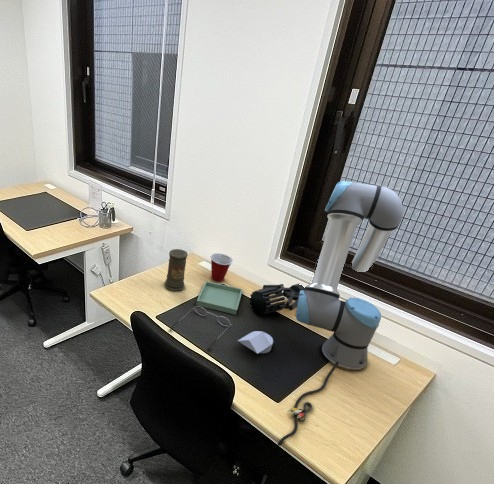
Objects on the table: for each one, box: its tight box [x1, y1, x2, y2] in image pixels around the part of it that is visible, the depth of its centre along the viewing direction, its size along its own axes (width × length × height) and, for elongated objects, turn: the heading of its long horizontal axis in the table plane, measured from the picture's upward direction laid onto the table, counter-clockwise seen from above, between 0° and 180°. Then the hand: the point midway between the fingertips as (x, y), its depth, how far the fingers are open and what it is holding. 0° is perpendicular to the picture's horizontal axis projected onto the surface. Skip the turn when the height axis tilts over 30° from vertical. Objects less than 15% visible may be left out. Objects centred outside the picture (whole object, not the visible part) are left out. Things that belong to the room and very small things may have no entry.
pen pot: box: [249, 287, 286, 317], centre depth 164 cm, size 10×11×11 cm
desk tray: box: [195, 280, 244, 315], centre depth 173 cm, size 19×18×3 cm
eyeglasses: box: [169, 305, 233, 351], centre depth 153 cm, size 18×19×4 cm
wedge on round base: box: [237, 330, 274, 354], centre depth 144 cm, size 9×7×13 cm
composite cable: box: [288, 401, 313, 423], centre depth 118 cm, size 10×5×2 cm, turn 120°
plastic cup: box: [210, 252, 234, 283], centre depth 186 cm, size 11×11×12 cm
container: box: [164, 248, 188, 292], centre depth 177 cm, size 9×9×18 cm
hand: (262, 300), depth 163 cm, fingers closed on pen pot, 11 cm apart
